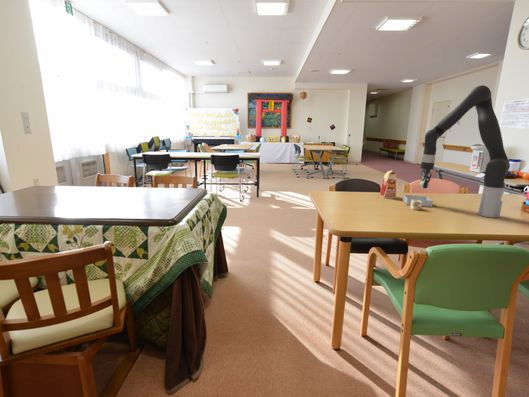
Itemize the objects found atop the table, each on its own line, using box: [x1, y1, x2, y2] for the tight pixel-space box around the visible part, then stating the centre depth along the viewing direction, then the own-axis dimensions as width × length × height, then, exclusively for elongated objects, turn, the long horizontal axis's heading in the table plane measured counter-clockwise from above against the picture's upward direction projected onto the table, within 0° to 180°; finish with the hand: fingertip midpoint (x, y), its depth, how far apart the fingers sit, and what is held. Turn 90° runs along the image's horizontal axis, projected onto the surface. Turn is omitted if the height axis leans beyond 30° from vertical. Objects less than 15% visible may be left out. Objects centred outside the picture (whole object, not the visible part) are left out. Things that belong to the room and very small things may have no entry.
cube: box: [409, 200, 423, 211], centre depth 182 cm, size 5×5×5 cm
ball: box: [419, 181, 429, 189], centre depth 192 cm, size 5×5×5 cm
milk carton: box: [379, 170, 397, 200], centre depth 210 cm, size 9×9×20 cm
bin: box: [401, 194, 434, 208], centre depth 195 cm, size 15×13×4 cm
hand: (423, 187), depth 193 cm, fingers closed on ball, 5 cm apart
